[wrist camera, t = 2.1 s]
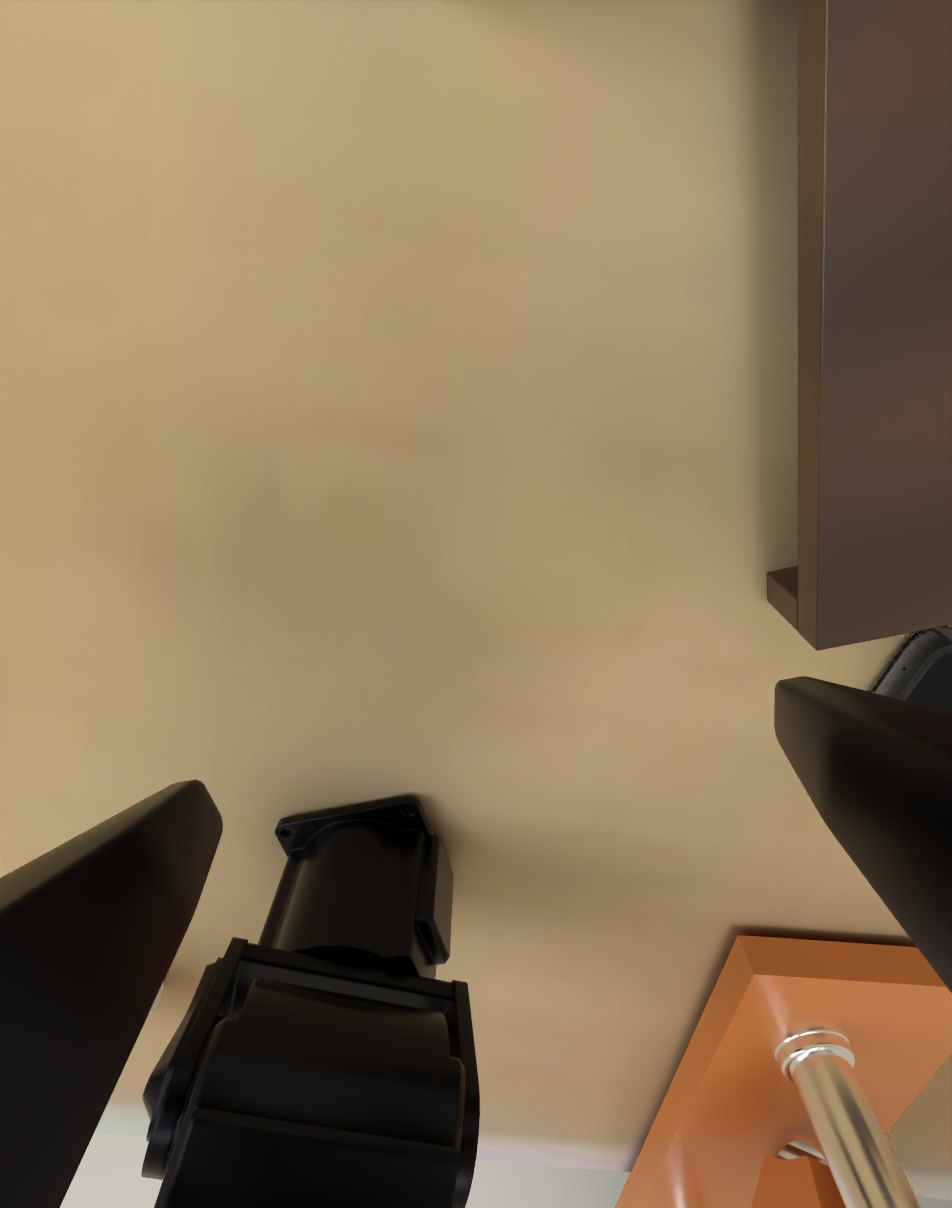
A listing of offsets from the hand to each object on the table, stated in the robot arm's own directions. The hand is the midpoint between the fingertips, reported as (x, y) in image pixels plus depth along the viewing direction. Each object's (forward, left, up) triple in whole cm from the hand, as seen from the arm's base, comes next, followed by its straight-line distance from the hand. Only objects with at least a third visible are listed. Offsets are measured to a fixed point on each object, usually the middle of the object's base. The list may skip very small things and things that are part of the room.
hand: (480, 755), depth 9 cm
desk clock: (+8, -39, -12) cm, 42 cm away
